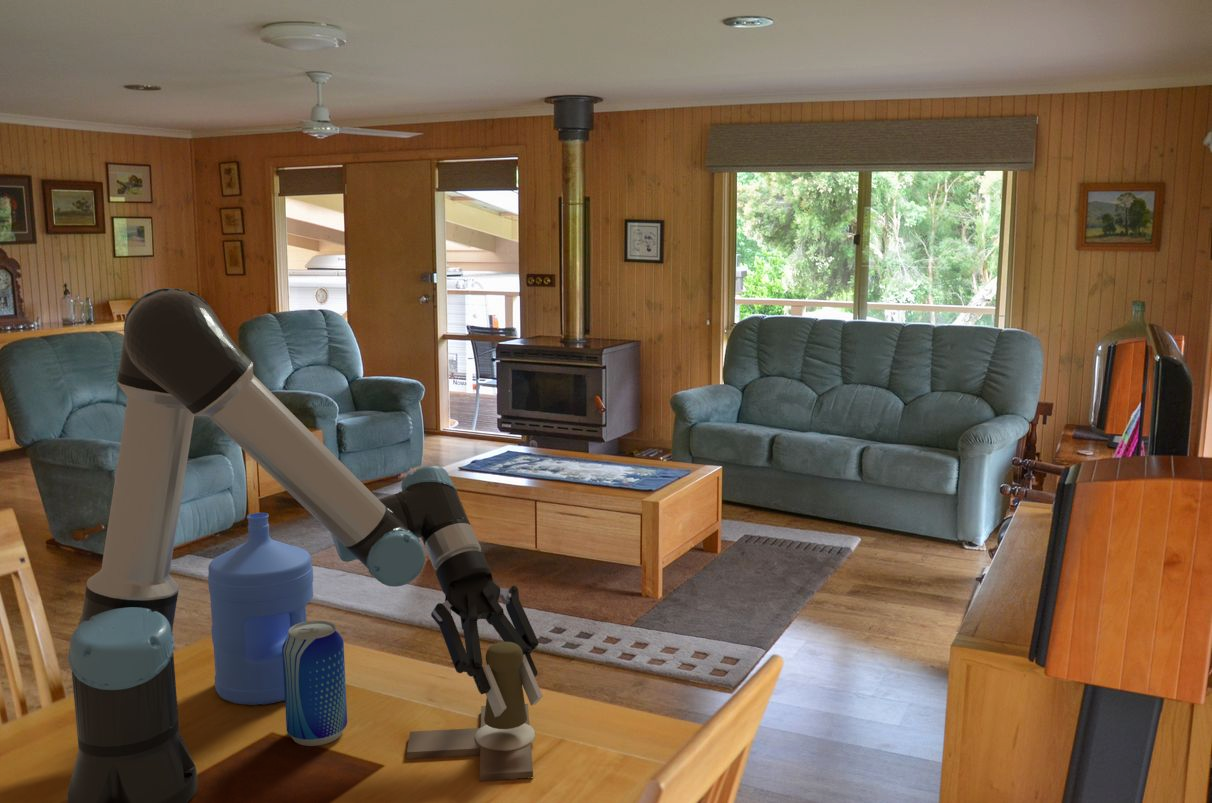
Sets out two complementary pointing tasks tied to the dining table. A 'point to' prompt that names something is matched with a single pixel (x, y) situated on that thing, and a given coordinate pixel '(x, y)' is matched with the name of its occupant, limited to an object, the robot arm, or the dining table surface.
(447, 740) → the walnut T board
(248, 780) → the dining table surface
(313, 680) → the beer can
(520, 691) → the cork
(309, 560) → the water jug
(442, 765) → the dining table surface
